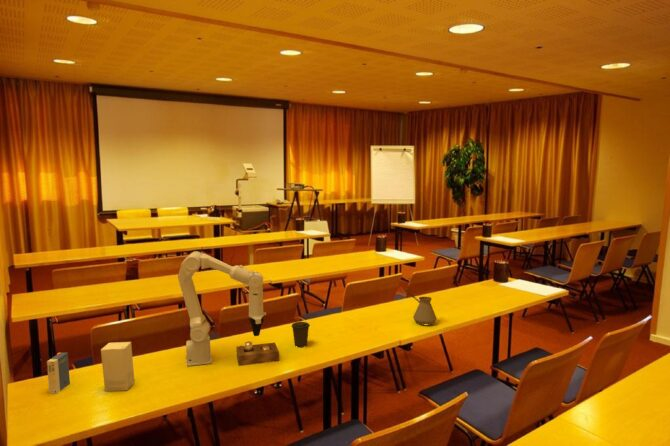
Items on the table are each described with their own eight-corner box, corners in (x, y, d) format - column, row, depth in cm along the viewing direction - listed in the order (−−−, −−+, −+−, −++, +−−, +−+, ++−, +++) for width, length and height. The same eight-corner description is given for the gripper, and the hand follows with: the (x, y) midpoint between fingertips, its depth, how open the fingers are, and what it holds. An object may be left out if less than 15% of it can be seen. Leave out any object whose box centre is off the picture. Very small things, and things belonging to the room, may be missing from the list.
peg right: (262, 358, 184) (262, 349, 184) (261, 356, 187) (261, 346, 187) (270, 358, 185) (270, 348, 185) (269, 355, 188) (269, 345, 188)
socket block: (238, 365, 178) (238, 356, 178) (236, 355, 188) (236, 346, 187) (279, 360, 183) (278, 351, 182) (275, 351, 192) (274, 342, 192)
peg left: (245, 354, 182) (245, 344, 182) (244, 351, 185) (244, 341, 185) (252, 353, 183) (252, 343, 182) (252, 350, 186) (251, 341, 185)
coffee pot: (441, 323, 227) (441, 294, 225) (425, 328, 220) (426, 298, 218) (410, 313, 244) (410, 286, 242) (394, 317, 237) (395, 289, 235)
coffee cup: (307, 349, 195) (307, 326, 194) (289, 347, 196) (288, 325, 195) (312, 342, 203) (311, 320, 201) (294, 340, 204) (294, 319, 203)
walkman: (62, 383, 164) (60, 351, 162) (70, 383, 164) (67, 351, 162) (48, 394, 156) (45, 360, 155) (56, 394, 156) (54, 360, 155)
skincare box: (135, 382, 164) (132, 341, 162) (127, 391, 158) (125, 348, 156) (111, 383, 164) (109, 341, 162) (102, 392, 157) (100, 348, 156)
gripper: (268, 307, 177) (268, 340, 178) (263, 297, 191) (263, 328, 192) (250, 308, 175) (250, 342, 176) (246, 298, 189) (247, 330, 190)
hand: (256, 335), depth 184 cm, fingers closed
